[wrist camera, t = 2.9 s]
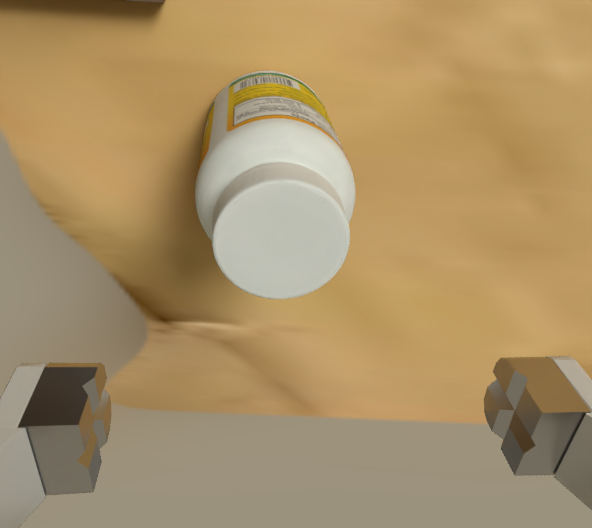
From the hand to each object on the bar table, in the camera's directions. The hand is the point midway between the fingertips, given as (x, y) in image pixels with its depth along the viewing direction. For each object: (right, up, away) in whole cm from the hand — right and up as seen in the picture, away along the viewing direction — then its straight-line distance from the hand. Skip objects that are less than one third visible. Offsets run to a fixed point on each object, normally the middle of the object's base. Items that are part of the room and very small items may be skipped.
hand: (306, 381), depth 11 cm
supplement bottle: (-2, +8, +12) cm, 15 cm away
